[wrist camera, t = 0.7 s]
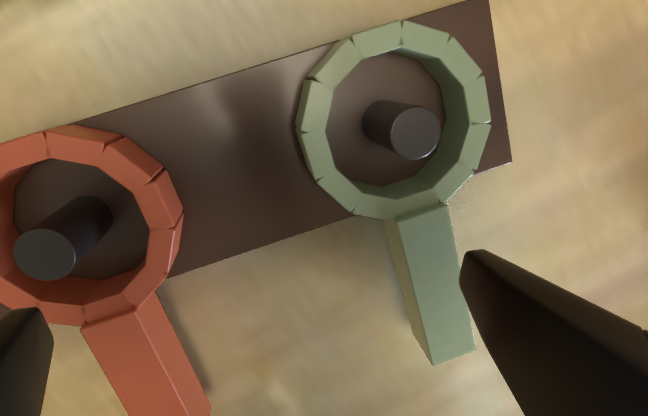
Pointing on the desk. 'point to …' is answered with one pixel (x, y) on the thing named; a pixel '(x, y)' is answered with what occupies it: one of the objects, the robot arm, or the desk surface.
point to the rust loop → (116, 292)
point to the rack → (249, 157)
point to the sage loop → (415, 192)
